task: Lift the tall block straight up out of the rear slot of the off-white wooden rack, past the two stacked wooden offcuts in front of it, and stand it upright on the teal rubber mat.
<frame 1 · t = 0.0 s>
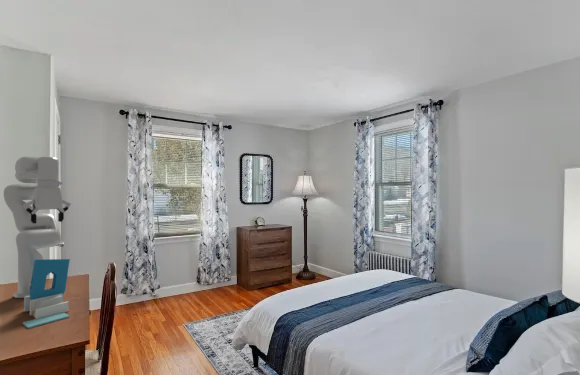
hand: (47, 222, 140), 37 cm above the table, tool pointing down, fingers open, 9 cm apart
mat: (46, 320, 121), on the table
upper offcut: (49, 305, 129), point 3 cm above the table, touching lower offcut
rack: (43, 309, 133), on the table
block: (45, 307, 133), point 1 cm above the table
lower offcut: (49, 314, 129), on the table, touching upper offcut
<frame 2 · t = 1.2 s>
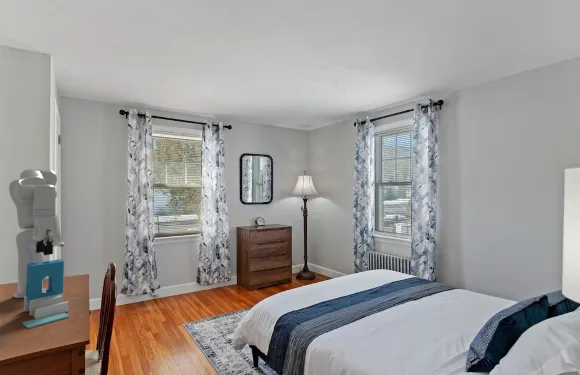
hand: (44, 253, 133), 24 cm above the table, tool pointing down, fingers open, 9 cm apart
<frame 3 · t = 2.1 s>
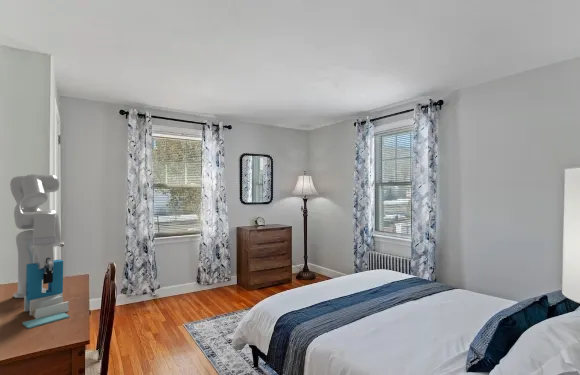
hand: (44, 281, 133), 12 cm above the table, tool pointing down, fingers open, 9 cm apart
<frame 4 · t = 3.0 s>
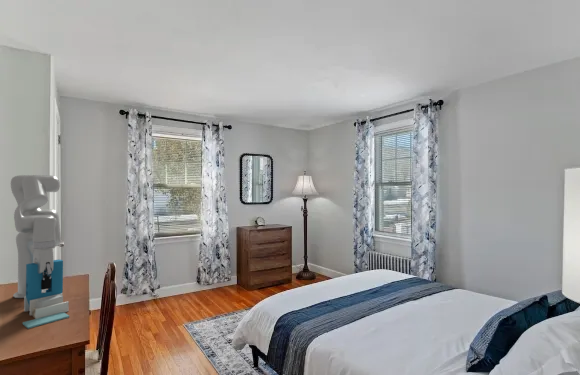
hand: (43, 287, 133), 9 cm above the table, tool pointing down, fingers closed on block, 5 cm apart
block: (44, 309, 133), on the table, touching gripper
everything else where it was.
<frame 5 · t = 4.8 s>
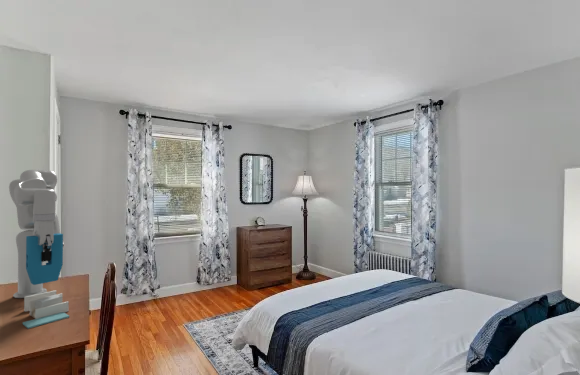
hand: (43, 259, 134), 21 cm above the table, tool pointing down, fingers closed on block, 5 cm apart
block: (44, 282, 134), point 11 cm above the table, touching gripper
everything else where it was.
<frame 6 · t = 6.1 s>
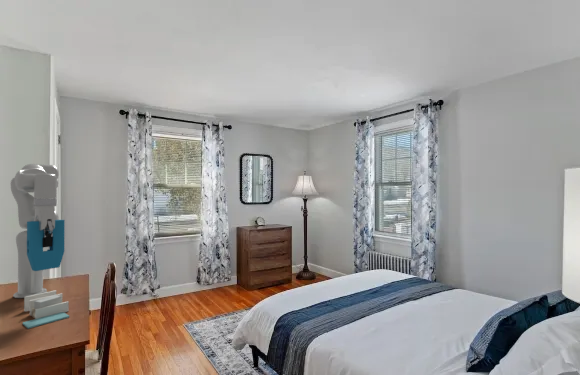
hand: (45, 245, 130), 28 cm above the table, tool pointing down, fingers closed on block, 5 cm apart
block: (46, 268, 130), point 18 cm above the table, touching gripper
everything else where it was.
when the fingers open (11 cm above the table, at t = 11.4 s): block stays where it is, resting on mat.
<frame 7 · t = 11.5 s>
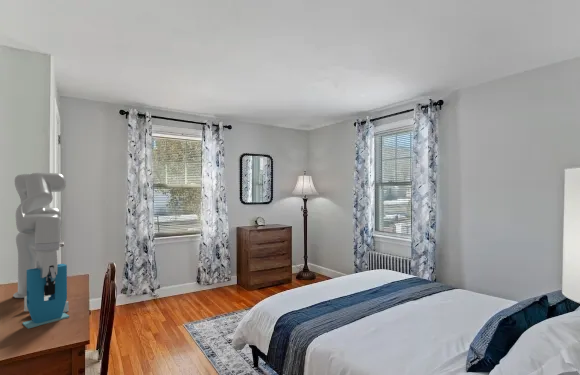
hand: (46, 292, 122), 11 cm above the table, tool pointing down, fingers open, 5 cm apart
block: (47, 318, 122), resting on mat
everything else where it was.
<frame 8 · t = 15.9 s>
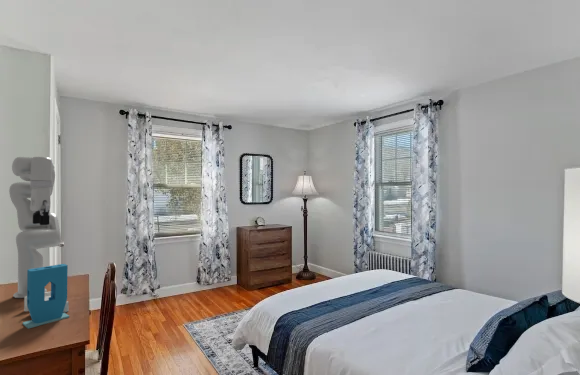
hand: (40, 224, 136), 36 cm above the table, tool pointing down, fingers open, 9 cm apart
nothing on the table moved.
at the end: block 0.4 cm off-centre on the mat, point 0.4 cm above the mat's base; block tilted 0°; upper offcut moved 0.6 cm from its start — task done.
